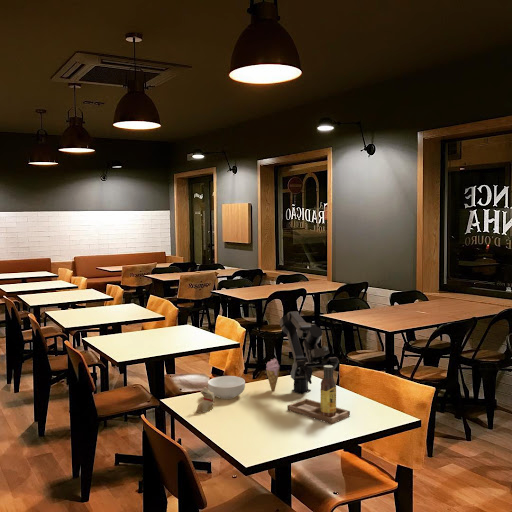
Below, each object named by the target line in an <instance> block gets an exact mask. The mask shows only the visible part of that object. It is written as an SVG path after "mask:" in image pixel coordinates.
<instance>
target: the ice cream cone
mask: <svg viewBox="0 0 512 512" xmlns="http://www.w3.org/2000/svg"><path fill="white" fill-rule="evenodd" d="M265 367H266V368H265V370H266V375H267V376H266V377H267V380H268V383H269V386H270V389H271V391H272V392H274V391H275V390H276V387H277V383H278V378H279V373H280V367H281V366H280V364H279V361H278V359H276V358H275V357H274V358H273V359H270V361H267V363H266V366H265Z"/></svg>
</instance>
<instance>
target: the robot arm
mask: <svg viewBox="0 0 512 512" xmlns="http://www.w3.org/2000/svg"><path fill="white" fill-rule="evenodd" d="M279 326H280V327H281V330H282V332H283V333H284V334H285V335H286V336H287V339H288V343H289V346H290V349H291V350H290V351H291V353H292V358H293V361H294V362H293V364H292V369H291V371H290V372H289V373H290V378H291V380H293V389H291V392H293V393H297V394H300V395H303V394H307V393H309V392H311V391H312V390H311V389H310V388H309V385H311V384H312V376H313V368H316V367H323V366H325V365H332V366H333V371H334V370H335V369H337V367H338V365H339V363H340V361H339V358H338V357H337V356H333V357H332V356H331V357H328V358H327V360H324V358H325V357H326V355H328V354H330V352H329V348H328V345H326V346H323V347H321V348H320V347H319V346H318V344H319V343H320V340H321V338H322V336H323V333H324V331H323V329H322V328H321V327H320V326H318V325H317V324H315V323H314V324H312V323H311V322H306V321H305V319H304V318H303V317H302V316H301V315H300V312H299V311H289V312H287V313H286V314H285V315H283V316H281V318H280V319H279ZM299 338H300V339H304V340H303V342H302V346H301V342H300V339H299ZM302 348H304V351H305V356H304V352H303V349H302Z"/></svg>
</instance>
